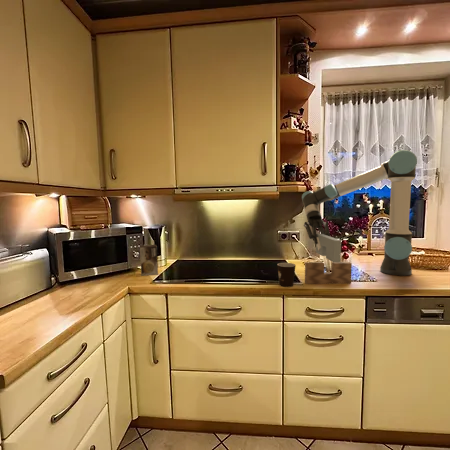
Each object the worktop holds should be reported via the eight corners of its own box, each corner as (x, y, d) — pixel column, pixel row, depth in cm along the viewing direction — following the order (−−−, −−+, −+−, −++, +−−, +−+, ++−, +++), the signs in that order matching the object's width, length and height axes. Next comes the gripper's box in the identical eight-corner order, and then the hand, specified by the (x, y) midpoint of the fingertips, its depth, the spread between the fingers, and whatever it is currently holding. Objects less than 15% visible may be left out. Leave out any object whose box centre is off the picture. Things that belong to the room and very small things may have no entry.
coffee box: (157, 271, 168) (156, 244, 166) (158, 274, 161) (157, 246, 160) (140, 273, 165) (139, 245, 163) (141, 276, 159) (140, 247, 157)
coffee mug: (295, 288, 135) (295, 267, 134) (276, 287, 137) (277, 266, 136) (294, 281, 146) (295, 261, 145) (277, 280, 148) (277, 261, 147)
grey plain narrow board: (315, 252, 154) (316, 233, 153) (321, 252, 154) (321, 233, 153) (333, 262, 130) (334, 240, 129) (340, 262, 130) (341, 240, 129)
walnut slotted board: (348, 281, 145) (348, 261, 144) (351, 283, 142) (351, 263, 141) (304, 282, 144) (305, 262, 143) (306, 283, 141) (307, 263, 140)
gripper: (325, 218, 165) (336, 252, 150) (297, 218, 165) (305, 253, 150) (329, 209, 159) (341, 244, 144) (300, 209, 159) (309, 244, 144)
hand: (323, 248), depth 147 cm, fingers closed on grey plain narrow board, 3 cm apart
